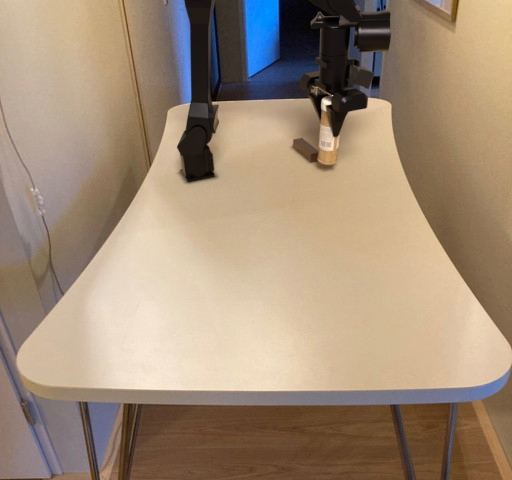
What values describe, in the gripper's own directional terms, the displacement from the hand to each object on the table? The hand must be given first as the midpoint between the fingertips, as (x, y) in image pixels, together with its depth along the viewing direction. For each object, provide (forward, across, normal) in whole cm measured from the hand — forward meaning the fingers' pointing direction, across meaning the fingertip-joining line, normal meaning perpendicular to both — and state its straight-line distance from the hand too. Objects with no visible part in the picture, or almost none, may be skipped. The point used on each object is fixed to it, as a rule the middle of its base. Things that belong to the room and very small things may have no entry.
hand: (330, 132), depth 117 cm
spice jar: (+7, 0, 0) cm, 7 cm away
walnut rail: (+9, +12, 0) cm, 15 cm away
